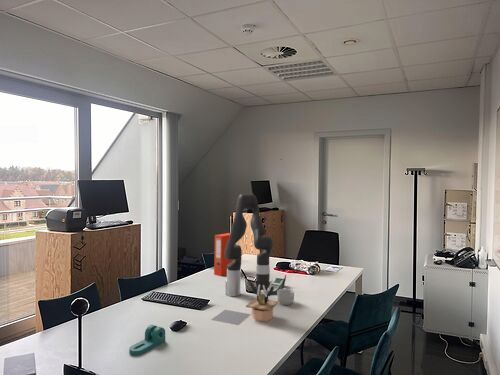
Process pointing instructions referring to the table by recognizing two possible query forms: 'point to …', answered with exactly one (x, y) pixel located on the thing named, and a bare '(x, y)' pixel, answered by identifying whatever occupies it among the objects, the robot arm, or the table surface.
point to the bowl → (262, 314)
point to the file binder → (221, 254)
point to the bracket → (148, 340)
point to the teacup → (285, 296)
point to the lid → (262, 303)
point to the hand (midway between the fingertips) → (262, 302)
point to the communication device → (277, 284)
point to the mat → (231, 317)
